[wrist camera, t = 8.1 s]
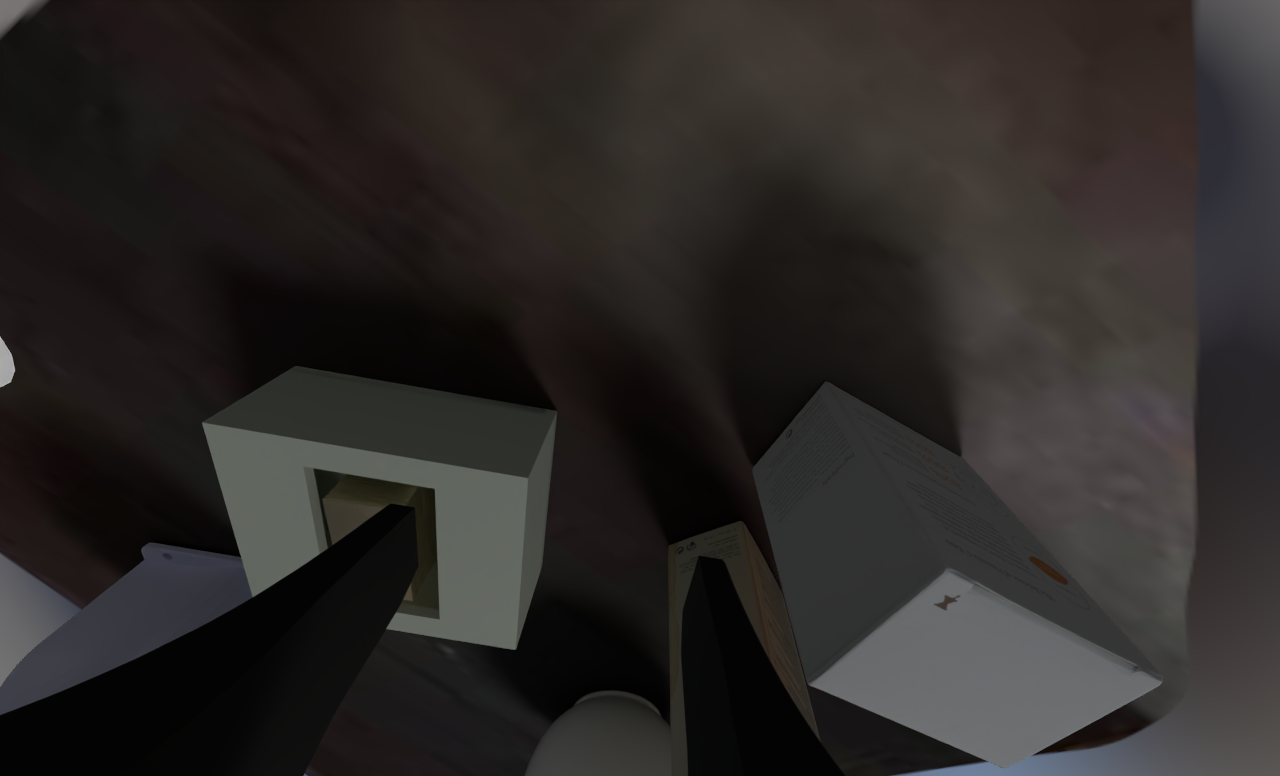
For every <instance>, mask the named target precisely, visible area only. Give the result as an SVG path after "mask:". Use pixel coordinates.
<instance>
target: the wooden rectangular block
mask: <svg viewBox="0 0 1280 776" xmlns="http://www.w3.org/2000/svg"><path fill="white" fill-rule="evenodd" d="M322 500H323V505H324V509H325V514H326V518H327V523H328V527H329V532H330V536H331V541H332V545H333V544H335V543H336V542H337V541H339V540H340V539H342V538H343V537H344V536H346V535H347V534H349V533H350V532H351V531H353V530H354V529H356V528H357V527H358V526H360V525H361V524H362V523H364V522H365V521H367V520H368V519H369V518H371V517H372V516H373V515H375V514H376V513H378V512H379V511H380V510H382V509H383V508H385V507H386V506H388V505H389V504H397V505H403V506H409V507H415V517H416V533H417V549H418V565H419V566H418V568H417V571H416V573H415V575H414V577H413V580H412V582H411V584H410V586H409V588H408V590H407V592H406V595H405V597H404V599H403V600H409V601H413V600H414V598H415V596H416V594H417V593H418V591H419V589H420V587H421V586H422V584H423V582H424V580H425V579H426V577H427V575H428V573H429V571H430V570H431V568H432V566H433V564H434V563H435V561H436V559H437V533H436V506H435V489H433V488H427V487H421V486H416V485H410V484H404V483H398V482H392V481H386V480H380V479H374V478H368V477H363V476H357V475H351V474H347V475H346V476H345V477H344V478H343V479H342V480H341V481H340V482H339V483H338V484H337V485H336V486H335V487H334V488H333V489H332V490H331V491H330V492H329V493H328V494H327V495H326V496H325V497H324V498H323V499H322Z"/></svg>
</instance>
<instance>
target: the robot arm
mask: <svg viewBox="0 0 1280 776" xmlns="http://www.w3.org/2000/svg"><path fill="white" fill-rule="evenodd" d="M141 551H142V554H143V557H144V559H145V560H144V561H142V562H141V563H140V564H139V565H137V566H136V567H135V568H134V569H132V570H131V571H130V572H129V573H127V574H126V575H125V576H124V577H122V578H121V579H120V580H119V581H117V582H116V583H115V584H114V585H112V586H111V587H110V588H109V589H107V590H106V591H105V592H104V593H102V594H101V595H100V596H99V597H97V598H96V599H95V600H94V601H92V602H91V603H90V604H89V605H87V606H86V607H85V608H84V609H82V610H81V611H80V612H78V613H77V614H76V615H75V616H74V617H72V618H71V619H70V620H69V621H67V622H66V623H65V624H63V625H62V626H61V627H60V628H59V629H57V630H56V631H55V632H54V633H52V634H51V635H50V636H48V637H47V638H46V639H45V640H43V641H42V642H41V643H40V644H38V645H37V646H36V647H35V648H34V649H33V650H32V651H31V652H30V653H28V654H27V655H26V656H25V657H24V659H22V661H20V662H19V664H18V665H17V666H16V667H15V669H13V671H12V672H11V673H10V674H9V676H8V677H7V678H6V680H5V681H4V683H3V684H2V686H1V687H0V776H303V775H304V773H305V771H306V769H307V767H308V765H309V763H310V761H311V759H312V757H313V755H314V753H315V751H316V749H317V747H318V745H319V743H320V741H321V739H322V737H323V735H324V733H325V731H326V729H327V727H328V725H329V723H330V721H331V719H332V717H333V715H334V714H335V712H336V710H337V708H338V707H339V705H340V703H341V701H342V700H343V698H344V696H345V694H346V693H347V691H348V690H349V688H350V686H351V685H352V683H353V682H354V680H355V678H356V677H357V675H358V673H359V672H360V670H361V669H362V667H363V665H364V664H365V662H366V661H367V659H368V657H369V656H370V654H371V653H372V651H373V649H374V648H375V646H376V644H377V643H378V641H379V640H380V638H381V636H382V635H383V633H384V631H385V630H386V628H387V627H388V625H389V623H390V622H391V620H392V618H393V617H394V615H395V613H396V612H397V610H398V608H399V607H400V605H401V603H402V601H403V599H404V597H405V595H406V592H407V590H408V588H409V586H410V584H411V582H412V580H413V577H414V575H415V573H416V571H417V568H418V566H419V565H418V549H417V533H416V517H415V507H409V506H403V505H397V504H389V505H388V506H386V507H385V508H383V509H382V510H380V511H379V512H378V513H376V514H375V515H373V516H372V517H371V518H369V519H368V520H367V521H365V522H364V523H362V524H361V525H360V526H358V527H357V528H356V529H354V530H353V531H351V532H350V533H349V534H347V535H346V536H344V537H343V538H342V539H340V540H339V541H337V542H336V543H335V544H333V545H332V546H330V547H329V548H327V549H326V550H324V551H323V552H322V553H320V554H319V555H317V556H316V557H314V558H313V559H311V560H310V561H309V562H307V563H306V564H304V565H303V566H301V567H300V568H298V569H297V570H295V571H293V572H292V573H290V574H289V575H287V576H286V577H284V578H283V579H281V580H279V581H278V582H276V583H275V584H273V585H272V586H270V587H268V588H267V589H265V590H264V591H262V592H260V593H259V594H257V595H256V596H254V597H253V596H252V593H251V590H250V586H249V583H248V579H247V576H246V572H245V569H244V565H243V562H242V558H241V557H237V556H231V555H225V554H219V553H213V552H207V551H201V550H195V549H189V548H183V547H177V546H170V545H164V544H158V543H148V544H146V545H145V546H144V547H142V549H141ZM681 664H682V680H683V695H684V710H685V725H686V740H687V761H688V776H845V774H844V773H843V772H842V770H841V769H840V768H839V766H838V765H837V764H836V762H835V761H834V760H833V758H832V757H831V756H830V754H829V753H828V752H827V750H826V749H825V748H824V746H823V745H822V743H821V742H820V740H819V739H818V737H817V736H816V734H815V733H814V731H813V730H812V729H811V727H810V726H809V724H808V723H807V721H806V720H805V718H804V716H803V715H802V713H801V712H800V710H799V709H798V707H797V706H796V704H795V702H794V701H793V699H792V698H791V696H790V694H789V693H788V691H787V689H786V688H785V686H784V684H783V682H782V681H781V679H780V677H779V675H778V674H777V672H776V670H775V668H774V666H773V665H772V663H771V661H770V659H769V657H768V656H767V654H766V652H765V650H764V648H763V646H762V644H761V642H760V640H759V638H758V636H757V634H756V632H755V630H754V628H753V626H752V624H751V622H750V620H749V618H748V615H747V613H746V611H745V609H744V607H743V604H742V602H741V600H740V598H739V595H738V593H737V591H736V588H735V586H734V584H733V581H732V579H731V576H730V574H729V571H728V568H727V566H726V563H725V562H724V561H723V559H717V558H711V557H705V556H699V557H698V560H697V563H696V567H695V570H694V573H693V577H692V580H691V583H690V587H689V590H688V593H687V597H686V600H685V603H684V607H683V610H682V632H681Z"/></svg>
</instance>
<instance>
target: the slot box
mask: <svg viewBox="0 0 1280 776" xmlns="http://www.w3.org/2000/svg"><path fill="white" fill-rule="evenodd" d="M556 417H557V411H554V410H548V409H542V408H537V407H531V406H525V405H519V404H514V403H508V402H502V401H496V400H490V399H485V398H479V397H473V396H467V395H462V394H456V393H450V392H444V391H438V390H433V389H427V388H421V387H415V386H410V385H404V384H398V383H392V382H386V381H381V380H375V379H369V378H363V377H358V376H352V375H346V374H340V373H335V372H329V371H323V370H317V369H311V368H306V367H300V366H295V367H293V368H291V369H290V370H288V371H286V372H285V373H283V374H282V375H280V376H278V377H277V378H275V379H273V380H272V381H270V382H268V383H267V384H265V385H263V386H262V387H260V388H258V389H257V390H255V391H253V392H252V393H250V394H248V395H247V396H245V397H244V398H242V399H240V400H239V401H237V402H235V403H234V404H232V405H230V406H229V407H227V408H225V409H224V410H222V411H220V412H219V413H217V414H215V415H214V416H212V417H211V418H209V419H207V420H206V421H204V422H202V424H203V427H204V431H205V434H206V438H207V441H208V445H209V448H210V452H211V455H212V458H213V462H214V465H215V469H216V472H217V476H218V479H219V483H220V486H221V489H222V493H223V496H224V500H225V503H226V507H227V510H228V514H229V517H230V521H231V524H232V527H233V531H234V534H235V538H236V541H237V545H238V548H239V552H240V555H241V558H242V562H243V565H244V569H245V572H246V576H247V579H248V583H249V586H250V590H251V593H252V596H253V597H254V596H256V595H257V594H259V593H260V592H262V591H264V590H265V589H267V588H268V587H270V586H272V585H273V584H275V583H276V582H278V581H279V580H281V579H283V578H284V577H286V576H287V575H289V574H290V573H292V572H293V571H295V570H297V569H298V568H300V567H301V566H303V565H304V564H306V563H307V562H309V561H310V560H311V559H313V558H314V557H316V556H317V555H319V554H320V553H322V552H323V551H324V550H326V549H327V548H329V547H330V546H332V541H331V536H330V532H329V527H328V523H327V518H326V514H325V509H324V505H323V500H322V499H323V498H324V497H325V496H326V495H327V494H328V493H329V492H330V491H331V490H332V489H333V488H334V487H335V486H336V485H337V484H338V483H339V482H340V481H341V480H342V479H343V478H344V477H345V476H346V475H347V474H351V475H357V476H363V477H368V478H374V479H380V480H386V481H392V482H398V483H404V484H410V485H416V486H421V487H427V488H433V489H435V506H436V533H437V559H436V561H435V563H434V564H433V566H432V568H431V570H430V571H429V573H428V575H427V577H426V579H425V580H424V582H423V584H422V586H421V587H420V589H419V591H418V593H417V594H416V596H415V598H414V600H413V601H409V600H403V601H402V603H401V605H400V607H399V608H398V610H397V612H396V613H395V615H394V617H393V618H392V620H391V622H390V623H389V625H388V627H387V628H386V629H391V630H397V631H403V632H409V633H415V634H421V635H427V636H433V637H439V638H445V639H452V640H458V641H464V642H470V643H476V644H482V645H488V646H494V647H500V648H506V649H512V650H516V648H517V645H518V641H519V638H520V635H521V632H522V628H523V625H524V622H525V619H526V616H527V612H528V609H529V606H530V603H531V599H532V596H533V593H534V590H535V587H536V583H537V580H538V577H539V574H540V570H541V567H542V560H543V549H544V539H545V529H546V519H547V509H548V499H549V488H550V478H551V468H552V458H553V448H554V438H555V427H556Z"/></svg>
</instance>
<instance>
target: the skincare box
mask: <svg viewBox="0 0 1280 776" xmlns="http://www.w3.org/2000/svg"><path fill="white" fill-rule="evenodd" d="M699 556H705V557H711V558H717V559H723V561H724V562H725V563H726V566H727V568H728V571H729V574H730V576H731V579H732V581H733V584H734V586H735V588H736V591H737V593H738V595H739V598H740V600H741V602H742V604H743V607H744V609H745V611H746V613H747V615H748V618H749V620H750V622H751V624H752V626H753V628H754V630H755V632H756V634H757V636H758V638H759V640H760V642H761V644H762V646H763V648H764V650H765V652H766V654H767V656H768V657H769V659H770V661H771V663H772V665H773V666H774V668H775V670H776V672H777V674H778V675H779V677H780V679H781V681H782V682H783V684H784V686H785V688H786V689H787V691H788V693H789V694H790V696H791V698H792V699H793V701H794V702H795V704H796V706H797V707H798V709H799V710H800V712H801V713H802V715H803V716H804V718H805V720H806V721H807V723H808V724H809V726H810V727H811V729H812V730H813V731H814V733H815V734H816V736H817V737H818V739H819V740H820V738H819V734H818V730H817V726H816V722H815V719H814V715H813V711H812V707H811V703H810V699H809V695H808V691H807V688H806V684H805V680H804V676H803V672H802V668H801V664H800V661H799V657H798V653H797V649H796V645H795V641H794V637H793V633H792V630H791V626H790V622H789V618H788V614H787V610H786V606H785V603H784V599H783V595H782V593H781V591H780V588H779V586H778V584H777V582H776V580H775V578H774V576H773V575H772V573H771V571H770V569H769V567H768V565H767V563H766V561H765V559H764V558H763V556H762V554H761V552H760V550H759V548H758V546H757V545H756V543H755V541H754V539H753V537H752V536H751V534H750V532H749V531H748V529H747V527H746V525H745V524H744V522H743V521H738V522H735V523H732V524H729V525H726V526H723V527H720V528H717V529H714V530H711V531H708V532H705V533H702V534H699V535H697V536H693V537H691V538H688V539H685V540H682V541H680V542H677V543H674V544H672V545H669V547H668V576H669V638H670V714H671V776H688V761H687V740H686V725H685V710H684V695H683V680H682V664H681V632H682V610H683V607H684V603H685V600H686V597H687V593H688V590H689V587H690V583H691V580H692V577H693V573H694V570H695V567H696V563H697V560H698V557H699ZM820 742H821V741H820Z"/></svg>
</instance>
